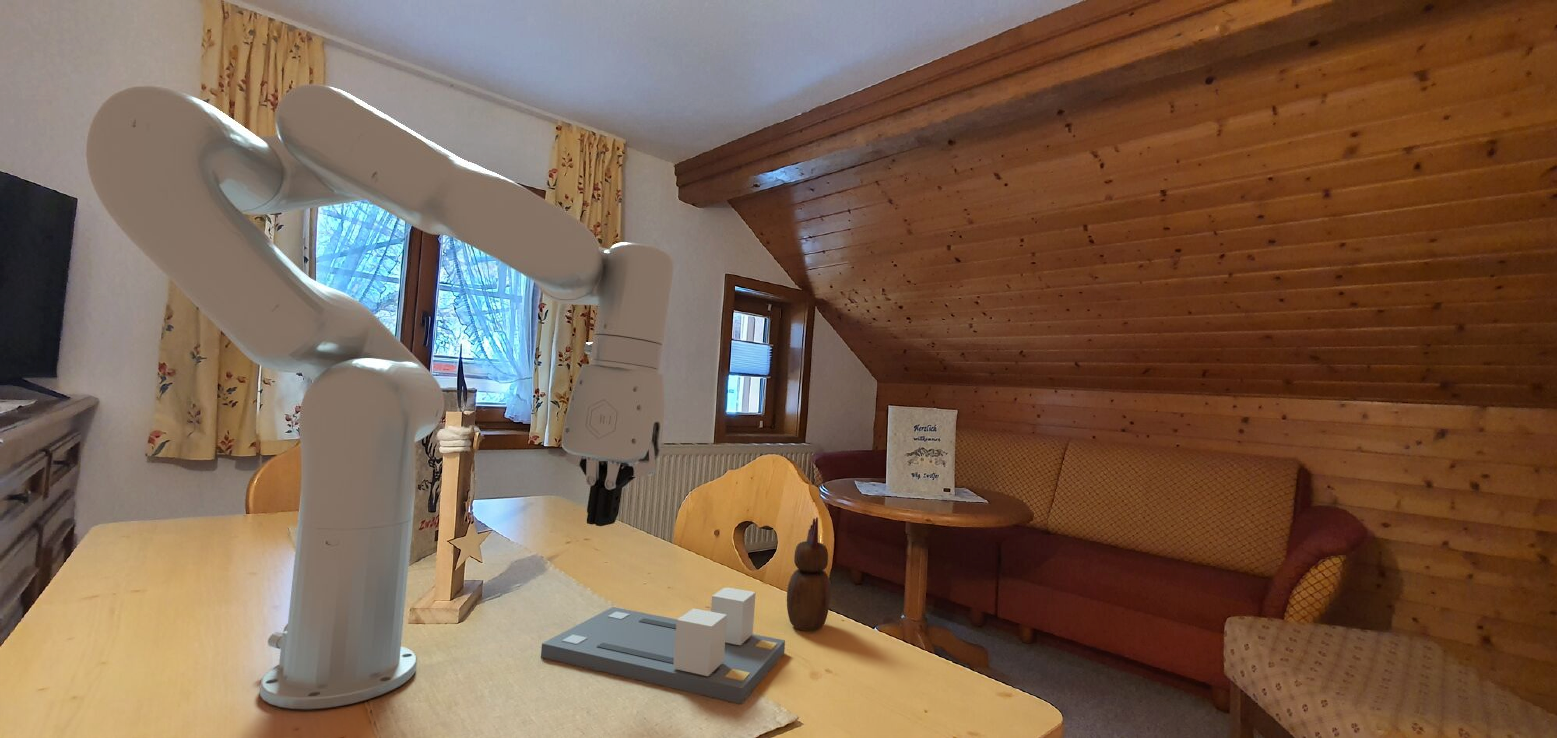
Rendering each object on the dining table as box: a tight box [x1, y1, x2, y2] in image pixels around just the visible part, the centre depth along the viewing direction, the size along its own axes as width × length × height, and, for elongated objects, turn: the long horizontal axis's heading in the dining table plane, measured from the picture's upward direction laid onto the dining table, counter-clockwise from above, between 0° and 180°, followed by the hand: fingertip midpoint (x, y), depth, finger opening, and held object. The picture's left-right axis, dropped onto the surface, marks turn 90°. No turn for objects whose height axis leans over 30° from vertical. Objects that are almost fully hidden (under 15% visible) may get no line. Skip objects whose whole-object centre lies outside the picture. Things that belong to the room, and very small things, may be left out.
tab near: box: [673, 607, 727, 676], centre depth 67 cm, size 4×4×5 cm
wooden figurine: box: [786, 516, 832, 632], centre depth 85 cm, size 7×6×15 cm
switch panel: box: [540, 606, 786, 704], centre depth 73 cm, size 24×14×2 cm, turn 72°
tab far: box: [710, 586, 756, 645], centre depth 75 cm, size 4×4×5 cm
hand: (601, 523), depth 68 cm, fingers closed
